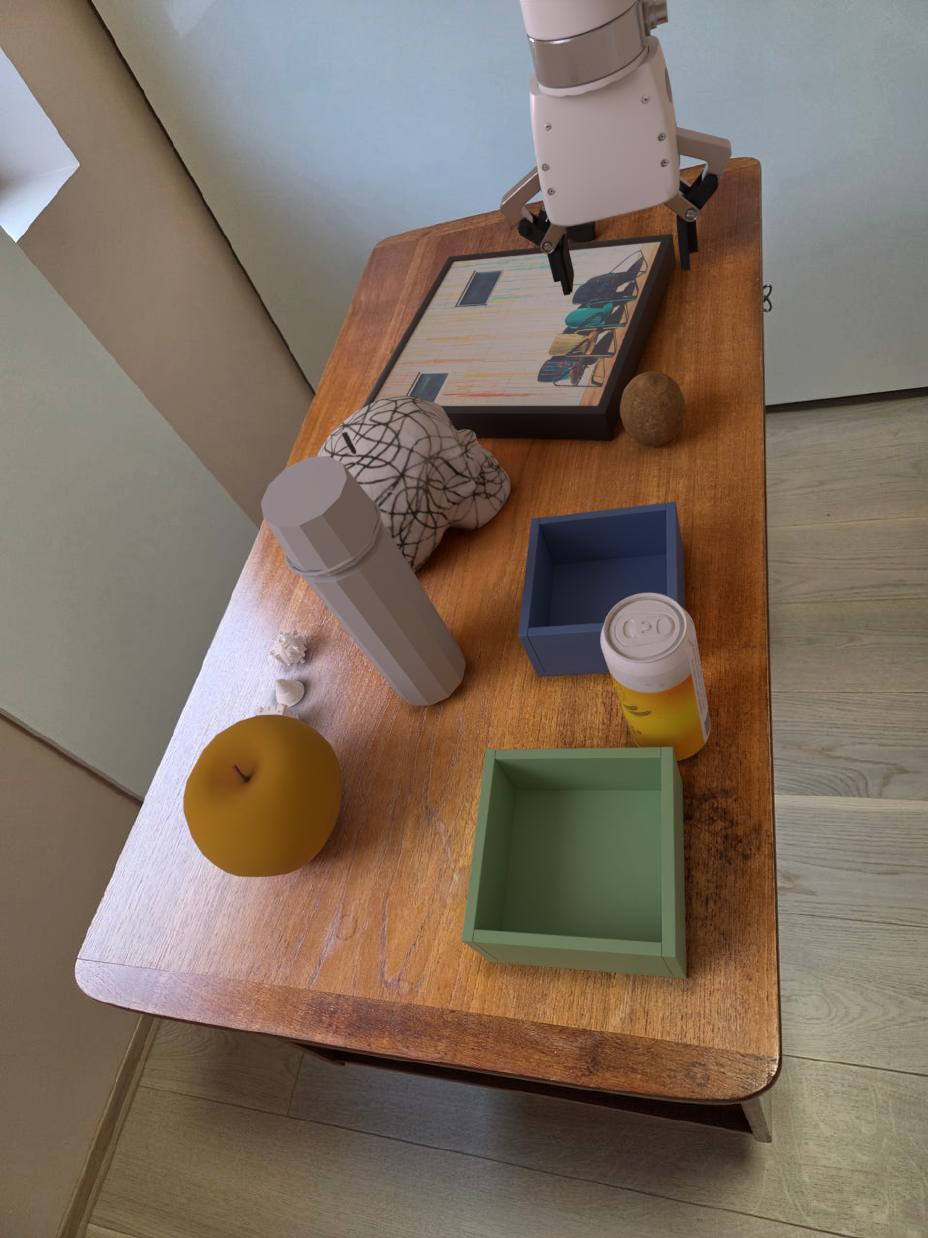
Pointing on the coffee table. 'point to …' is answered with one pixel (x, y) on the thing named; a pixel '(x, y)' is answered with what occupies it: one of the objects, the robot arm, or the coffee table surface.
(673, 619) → the beer can
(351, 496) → the water bottle
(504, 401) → the framed painting
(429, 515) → the sculpture
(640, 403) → the fruit
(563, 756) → the green bin
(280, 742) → the apple
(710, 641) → the coffee table surface
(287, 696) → the seashells
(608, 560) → the blue bin
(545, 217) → the lighter
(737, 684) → the coffee table surface
